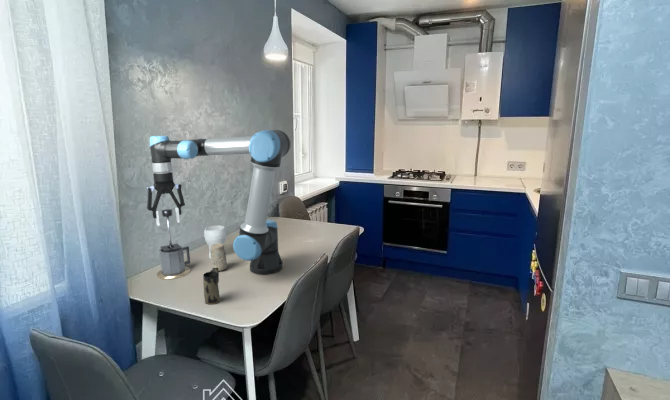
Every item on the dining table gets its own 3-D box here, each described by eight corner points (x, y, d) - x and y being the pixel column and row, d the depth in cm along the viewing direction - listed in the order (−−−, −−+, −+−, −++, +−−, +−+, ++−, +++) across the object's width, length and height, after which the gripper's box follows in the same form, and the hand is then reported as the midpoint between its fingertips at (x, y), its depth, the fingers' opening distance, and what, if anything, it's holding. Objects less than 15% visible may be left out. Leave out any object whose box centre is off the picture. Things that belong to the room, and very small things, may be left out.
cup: (221, 260, 180) (219, 231, 177) (201, 259, 182) (199, 230, 179) (231, 253, 191) (229, 225, 187) (212, 252, 193) (210, 224, 190)
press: (195, 273, 165) (192, 247, 162) (160, 282, 156) (157, 254, 154) (186, 264, 176) (184, 240, 173) (153, 271, 168) (150, 246, 165)
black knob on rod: (180, 252, 163) (176, 210, 159) (165, 255, 160) (160, 212, 156) (177, 248, 168) (172, 207, 164) (162, 251, 165) (157, 209, 161)
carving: (218, 265, 174) (216, 241, 171) (230, 268, 170) (228, 244, 168) (208, 270, 168) (206, 245, 166) (220, 273, 165) (218, 248, 163)
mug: (215, 305, 136) (212, 275, 134) (201, 304, 137) (199, 274, 135) (225, 295, 144) (223, 267, 141) (212, 294, 145) (210, 266, 142)
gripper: (185, 169, 165) (189, 218, 170) (134, 173, 154) (141, 225, 158) (189, 171, 159) (194, 221, 164) (137, 175, 148) (144, 229, 152)
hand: (168, 223), depth 161 cm, fingers open, 8 cm apart
